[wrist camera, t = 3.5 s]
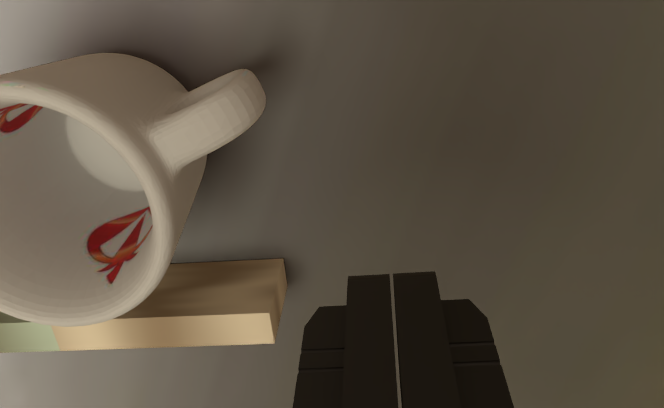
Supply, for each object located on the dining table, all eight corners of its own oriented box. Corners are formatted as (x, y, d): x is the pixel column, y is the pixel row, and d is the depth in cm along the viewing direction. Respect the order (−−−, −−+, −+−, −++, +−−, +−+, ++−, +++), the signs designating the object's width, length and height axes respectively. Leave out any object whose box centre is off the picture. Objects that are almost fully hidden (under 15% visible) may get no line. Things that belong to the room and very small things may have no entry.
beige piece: (223, -140, 19) (178, -157, 15) (287, 286, 27) (270, 360, 22) (-250, -85, 21) (-418, -85, 17) (-66, 301, 28) (-147, 373, 24)
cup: (227, -45, 21) (151, -25, 14) (326, 146, 24) (306, 246, 16) (-3, 81, 23) (-169, 155, 16) (112, 240, 26) (15, 361, 19)
